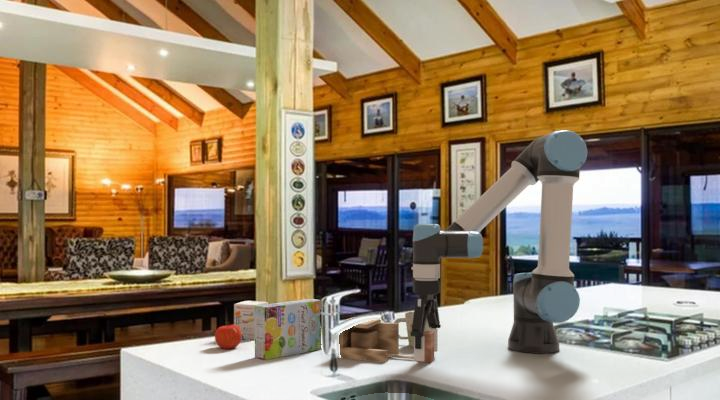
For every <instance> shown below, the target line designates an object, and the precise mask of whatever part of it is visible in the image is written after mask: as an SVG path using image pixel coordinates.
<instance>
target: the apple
mask: <svg viewBox="0 0 720 400" xmlns="http://www.w3.org/2000/svg"><path fill="white" fill-rule="evenodd" d="M241 337H242V333H241V330H240V328H239V327H238V326H237V325H234V324H230V321H228V322H227V325H222V326H219V327H218V328H217V329H216V330H215V334H214V340H215V343H216V345H217V346H218V347H219V348H221V349H224V350H229V349H231V350H232V349H235V348H237V347H238V346H239V345H240V343H241V341H242V339H241Z"/></svg>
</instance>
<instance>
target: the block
mask: <svg viewBox="0 0 720 400" xmlns="http://www.w3.org/2000/svg"><path fill="white" fill-rule="evenodd" d="M423 336H424V361H418V363H425V364H427V363H428V364H432V363H433V362H434V361H435V352H434V332H431V331H424V333H423ZM351 347H354V348H366V349H378V331H376V330H362V329H358V330H356V331H354V332H351ZM388 358H395V359H396V358H397V359H409V360H414V355H404V354H399V355H395V354H388Z"/></svg>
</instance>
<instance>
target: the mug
mask: <svg viewBox="0 0 720 400" xmlns="http://www.w3.org/2000/svg"><path fill="white" fill-rule="evenodd" d="M404 314H405V316H404V317H398V318H396V319H395V320H394V322H393V323H399V324H400V323H405V324H406V332H407V336H401V335H400V334H399V340H402V341H403V340H408V341H407V342H408V346H409V347H411V346H412V348H414V336H411V331H412V324H413V317H414V311H407V312H405V313H404ZM428 328H430V327H429V325H428V321H427V319H426V324H425V329H424V331H428Z"/></svg>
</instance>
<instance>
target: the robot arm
mask: <svg viewBox="0 0 720 400" xmlns="http://www.w3.org/2000/svg"><path fill="white" fill-rule="evenodd" d="M587 157H588V148H587V144H586V142H585V141H584V139H583V138H582V136H580V135H579V134H578V133H576V132H574V131H572V130H555V131H552V132H551V133H548V134H545V135H541V136H538V137H537V138H536V139H534V140H533V141H532V142H531V143H530V144H528V145H527V146H526V148H525V149H524V150H522V152H521V153H519V155H518V156H517V157H516V158H515V159H514V160H513V161H512V162H511V166H510V168H509V169H508V170H507V171H506V172H505V173H504V174H502V176H501V177H499V179H497V181H496V182H494V183H493V184H492V185H491V186H490V187H489V188H488V189H487V190H486V191H485V192H484V193H483V194H482V195H480V196H479V197H478V198H477V199H476V200H475V201H474V202H473V203H472V204H471V205H470V206H469V207H468V208H467V209H466V210H465V211H463V212H462V213H461V215H459V216H458V217H457V218H456V219H455V220H454V221H453V222H452V223H451V224H450V225H449V226H448V227H446V229H444V230H441V226H440V224H437V223H418V224H417V223H416V225H414V226H413V234H412V266H411V268H410V269H411V270H412V277H413V280H412V292H413V293H414V294H416V295H418V296H419V297H418V298H415V299H414V310H413V312H414V317H413V324H412V331H411V336H414V347H413V356H414V359H413V361H415V362H416V361H417V362H419V361H424V336H423V333H424V329H425V324H426V319H427V321H428V325H429V327H430V328H428V331H431V332H434V353H437V352H438V351H439V350H438V348H439V347H438V337H439V336H438V335H439V334H438V331H439V329H441V326H442V324H440V314H439V308H438V307H439V305H438V296H437V295H438V294H440V293H441V281H440V280H439V279H440V278H441V264H440V263H441V258H442V259H446V258H448V259H451V258H452V259H455V258H456V259H472V258H473V259H475V258H480V257H481V256H482V254H483V251H484V240H483V238H484V237H483V236H482V233H481V231H482V230H483V229H484V228H485V227H487V225H489V223H491V221H493V220H494V219H495V218H496V217H497V216H498V215H499V214H500V213H501V212H502V211H503V210H505V208H506V207H507V206H508V205H510V204H511V202H513V200H515V199H516V198H517V197H518V196H519V195H520V194H521V193H522V192H523V191H524V190H525V189H526V188H528V187H529V186H535V185H536V184H537V183H538V182H539V181H540V183H541V199H540V200H541V201H540V219H539V221H540V222H539V234H538V235H539V236H538V238H539V239H538V256H537V267H536V268H534V269H533V270H532V271H531V272H520V273H515V275H514V276H513V283H512V289H513V290H512V291H513V323H512V327H511V329H510V333H509V337H508V339H507V340H508V341H507V348H508V349H509V350H513V351H515V352H516V351H517V352H523V353H532V354H547V353H548V354H549V353H556V352H558V351H560V341H559V338H558V335H557V332H556V328H555V326H554V323H557V324H560V323H564V322H567V321H569V320H570V319H572V318H573V317H574V316H575V315H576V313H577V312H578V310H579V308H580V303H581V300H580V299H581V298H580V294H579V291H578V290H577V288H576V287H575V274H574V273H573V272H572V271H571V269H570V257H571V256H570V254H571V234H572V217H573V216H572V215H573V199H574V197H573V196H574V195H573V194H574V185H575V184H576V183H577V182H578V181H579V180H580V174H581V173H580V170H581V167H583V165H584V164H585V163H586V161H587Z"/></svg>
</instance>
